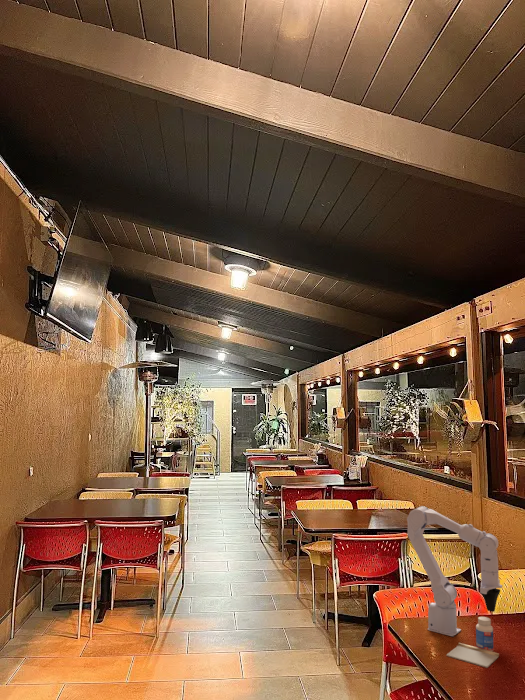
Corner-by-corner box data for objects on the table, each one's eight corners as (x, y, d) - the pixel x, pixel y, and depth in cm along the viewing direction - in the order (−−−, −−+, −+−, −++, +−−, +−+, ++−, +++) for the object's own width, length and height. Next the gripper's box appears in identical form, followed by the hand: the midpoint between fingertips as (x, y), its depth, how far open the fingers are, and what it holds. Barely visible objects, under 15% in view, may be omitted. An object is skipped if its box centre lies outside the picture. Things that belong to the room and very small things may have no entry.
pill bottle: (485, 653, 184) (484, 622, 185) (472, 647, 189) (471, 617, 190) (497, 650, 187) (496, 619, 188) (484, 644, 191) (483, 614, 192)
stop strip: (458, 646, 190) (458, 643, 190) (459, 645, 190) (459, 642, 190) (498, 657, 181) (497, 654, 181) (499, 656, 182) (498, 653, 182)
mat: (446, 655, 182) (446, 654, 182) (458, 646, 190) (458, 645, 190) (487, 667, 174) (487, 666, 174) (498, 657, 181) (497, 656, 181)
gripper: (494, 576, 190) (495, 619, 188) (507, 568, 201) (509, 608, 199) (473, 573, 194) (474, 614, 193) (487, 564, 205) (489, 603, 204)
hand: (491, 610), depth 196 cm, fingers closed
